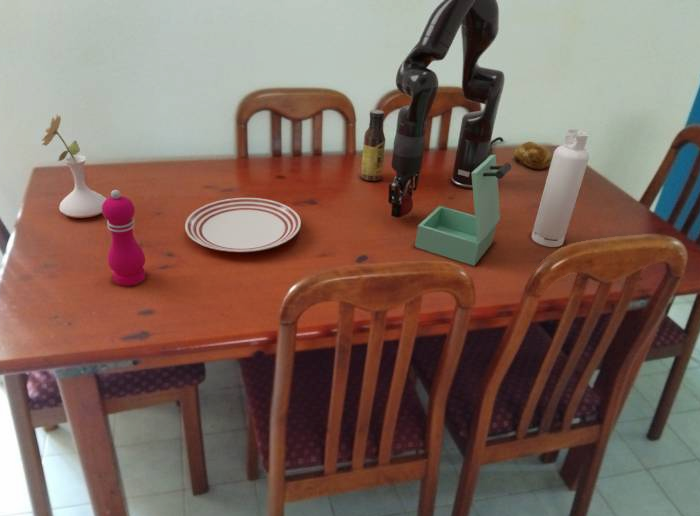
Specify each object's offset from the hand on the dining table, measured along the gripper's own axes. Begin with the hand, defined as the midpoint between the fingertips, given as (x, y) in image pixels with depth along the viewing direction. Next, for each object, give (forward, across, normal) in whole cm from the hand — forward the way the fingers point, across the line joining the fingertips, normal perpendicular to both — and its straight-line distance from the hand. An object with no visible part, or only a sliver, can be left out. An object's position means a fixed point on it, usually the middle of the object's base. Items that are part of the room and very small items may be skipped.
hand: (400, 211), depth 157 cm
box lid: (-12, -5, -22) cm, 26 cm away
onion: (+2, 0, 0) cm, 2 cm away
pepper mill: (+2, -60, +34) cm, 70 cm away
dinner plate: (+2, -30, +28) cm, 41 cm away
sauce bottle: (+2, +20, +19) cm, 27 cm away
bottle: (+2, +13, -36) cm, 38 cm away
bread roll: (+3, +64, -18) cm, 66 cm away
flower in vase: (+2, -46, +66) cm, 80 cm away
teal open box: (+2, -5, -17) cm, 18 cm away
